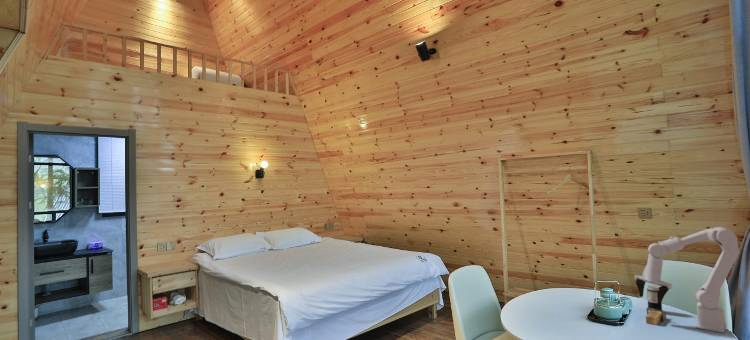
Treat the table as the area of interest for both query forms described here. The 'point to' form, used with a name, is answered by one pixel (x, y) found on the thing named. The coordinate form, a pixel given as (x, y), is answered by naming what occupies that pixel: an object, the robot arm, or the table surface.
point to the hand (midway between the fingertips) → (650, 299)
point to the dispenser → (657, 310)
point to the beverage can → (653, 298)
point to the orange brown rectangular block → (654, 317)
